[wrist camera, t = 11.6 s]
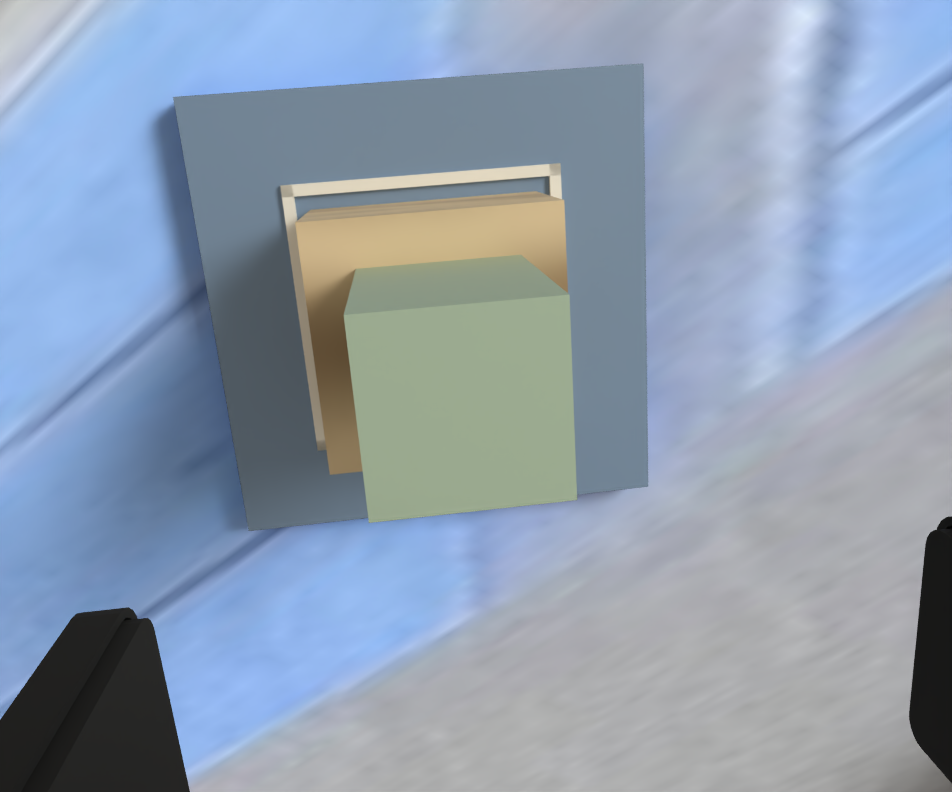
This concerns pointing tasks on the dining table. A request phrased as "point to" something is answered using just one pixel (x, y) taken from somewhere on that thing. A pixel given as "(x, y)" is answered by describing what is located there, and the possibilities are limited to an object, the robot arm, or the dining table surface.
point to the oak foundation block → (399, 243)
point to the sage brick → (461, 386)
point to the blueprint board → (404, 180)
